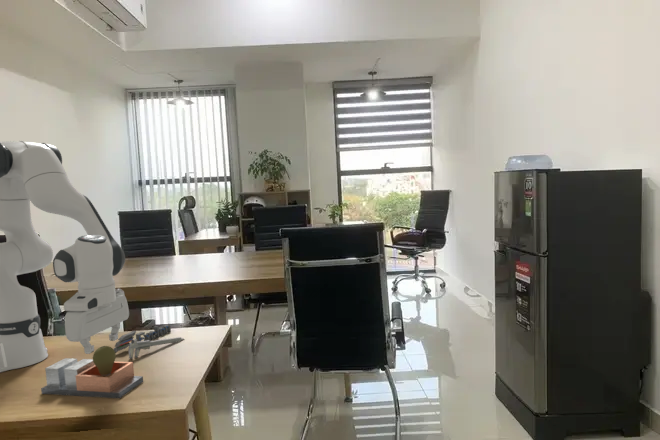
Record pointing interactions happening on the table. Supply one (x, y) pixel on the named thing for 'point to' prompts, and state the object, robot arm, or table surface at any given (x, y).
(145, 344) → the caliper
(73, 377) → the desk organizer
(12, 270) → the robot arm
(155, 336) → the block letters
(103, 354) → the light bulb
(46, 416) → the table surface
